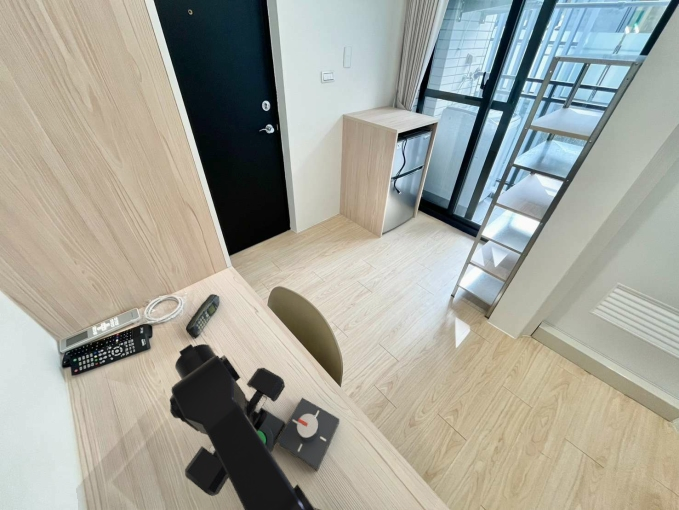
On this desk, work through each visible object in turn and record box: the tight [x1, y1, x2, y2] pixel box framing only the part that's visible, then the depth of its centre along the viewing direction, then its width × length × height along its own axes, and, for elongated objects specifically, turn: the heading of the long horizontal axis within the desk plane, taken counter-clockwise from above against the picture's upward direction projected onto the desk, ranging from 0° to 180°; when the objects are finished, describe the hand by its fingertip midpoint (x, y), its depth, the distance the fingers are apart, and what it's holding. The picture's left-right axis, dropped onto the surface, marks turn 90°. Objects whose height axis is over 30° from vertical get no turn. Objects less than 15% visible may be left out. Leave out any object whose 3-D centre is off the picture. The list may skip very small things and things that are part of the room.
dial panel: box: [276, 397, 340, 472], centre depth 60 cm, size 10×10×3 cm
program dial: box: [297, 414, 319, 442], centre depth 58 cm, size 4×4×4 cm
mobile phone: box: [185, 293, 220, 339], centre depth 82 cm, size 5×3×15 cm
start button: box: [257, 431, 266, 444], centre depth 57 cm, size 4×4×2 cm
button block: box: [258, 406, 287, 453], centre depth 60 cm, size 10×11×4 cm
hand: (251, 434), depth 53 cm, fingers closed
